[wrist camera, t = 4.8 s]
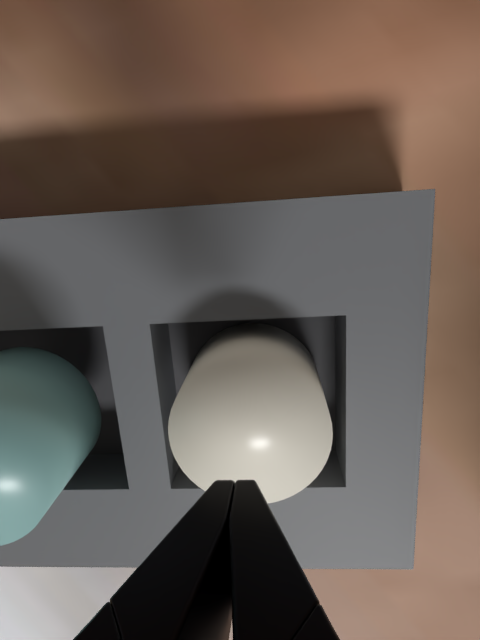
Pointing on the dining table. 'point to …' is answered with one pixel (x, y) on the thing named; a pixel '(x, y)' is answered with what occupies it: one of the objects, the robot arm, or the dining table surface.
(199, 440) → the ivory button
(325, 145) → the dining table surface
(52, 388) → the teal button
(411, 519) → the panel
